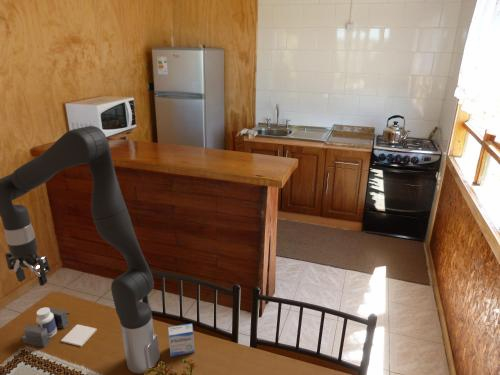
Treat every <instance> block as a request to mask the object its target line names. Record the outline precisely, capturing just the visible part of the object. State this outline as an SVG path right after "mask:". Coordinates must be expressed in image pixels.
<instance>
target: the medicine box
mask: <svg viewBox="0 0 500 375" xmlns="http://www.w3.org/2000/svg"><path fill="white" fill-rule="evenodd" d="M167 331H168V332H167V334H168V335H167V336H168V344H169V345H168V346H169V355H170V357H176V356H181V355H188V354H193V353H195V351H196V350H195V338H194V328H193V323H186V324H180V325H173V326H167Z"/></svg>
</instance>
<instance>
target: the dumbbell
mask: <svg viewBox="0 0 500 375" xmlns="http://www.w3.org/2000/svg"><path fill="white" fill-rule="evenodd" d="M48 308H49V309H50V312H51V313H53V315H54V319H55V323H56V327H57V329H63V330H64V329H65V328H67V327H68V326H69V320H68V316H69V315H70V312H67V311H66V310H64V309H59V308H54V307H50V306H49V307H48ZM23 332H24V334H23V336H21V340H22V343H26V344H29V345H34V346H36V347H40V348H43V349H44V348H46V347H47V346H48V345H49V344H50V343H51V341H50V338H49V337H48V333H47V329H46V328H43V327H39V326H37V323H36V324H35V325H34V324H28V325H27V326H26V327H24V328H23Z"/></svg>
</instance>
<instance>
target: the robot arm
mask: <svg viewBox="0 0 500 375" xmlns="http://www.w3.org/2000/svg"><path fill="white" fill-rule="evenodd" d="M86 164H88V167H89V170H90V173H91V177H92V190H91V191H92V192H91V201H90V212H91V217H92V218H93V219H92V220H93V223H94V225H95V227H96V231H97V233H98V234H99V236H100V237H101V239H103V240H104V241H105V242H106V243H107V244H109V245H110V246H111V247H113V248H114V249H116V250H117V251H118V252H120V254H121V255H122V256H123V258H124V259H125V262H126V264H127V268H128V270H126V271H125V272H123V273H122V274H120V275H118V276H117V277H116V278H114V279H113V280H112V282H111V286H110V287H111V288H110V289H111V295H112V300H113V304H114V307H115V311H116V315H117V316H118V319H119V323H120V329H121V336H122V340H123V347H124V348H123V349H124V355H125V359H126V364H127V369H128V370H129V371H130V372H131V373H135V374H144V373H146V372H145V371H146V370H147V369H148V368H150V367H154V368H155V366H156V364H158V362H159V360H160V357H161V356H160V347H159V339H158V337H159V336H158V334H156V333H155V329H154V319H153V313H152V311H153V310H152V308H151V306H150V305H149V304H148V303H146V302H143V301H141V300H143V299H144V298H146V297H147V296H148V295H149V294H150V293H151V292H152V291H154V287H155V281H154V278H153V274H152V270H151V269H150V267H149V264H148V263H147V261H146V257H145V256H144V254H143V251H142V249H141V246H140V244H139V241H138V238H137V236H136V232H135V229H134V227H133V223H132V219H131V216H130V212H129V210H128V208H127V207H128V206H127V205H126V203H125V199H124V197H123V194H122V190H121V188H120V183H119V181H118V176H117V173H116V169H115V166H114V161H113V157H112V151H111V147H110V143H109V139H108V138H107V136H106V134H105V132H103V130H102V129H100V128H99V127H98V126H95V125H89V126H82V127H78V128H74V129H70V130H68V131H67V132H66V133H64V134H63V135H62V136H60V137H59V138H58V139H57V140H56V141H55V142H54V143H53V144H52V145H50V147H49V148H47V149H46V150H45V151H44V152H42V153H41V154H39V155H38V156H37V157H34V158H33V159H31V160H29V161H28V162H26V163H24V164H23V165H21V166H19V167H18V168H16V169H15V170H14V171H13V172H12V173H10V174H8V175H5V176H4V177H1V178H0V218H1V221H2V226H3V230H4V237H5V240H6V245H7V248H8V250H9V251H8V252H7V253H5V255H4V256H5V260H6V264H7V268H8V270H12V271H13V272H14V273H15V275H16V278H17V281H18V282H20V283H22V282H23V281H24V280H26V274H25V271H24V269H25V268H27V269H29V270H30V271H31V272H32V273H35V275H36V276H37V280H38V284H39V286H41V287H42V286H44V285H46V284H47V283H48V279H47V275H48V274H49V273H50V272H51V267H50V264H49V260H48V258H47V256H46V255H45V254H44V255H42V256H39V255H38V253H37V251H38V247H39V246H38V243H37V238H36V235H35V232H34V231H35V230H34V227H33V225H32V222H31V219H30V215H29V211H28V209H27V207H26V206H25V205H23V204H14V203H13V201H14V200H16V199H19V198H20V197H22V196H24V195H26V194H28V193H29V192H30V191H32V190H34V189H36V188H37V187H38V188H39V187H40V186H42V185H43V184H45V183H46V182H48V181H49V180H51V179H52V178H53V177H54V176H56V174H57V173H59V172H60V171H63V170H65V169H68V168H73V167H76V166H79V165H86ZM36 265H37V266H36ZM35 266H36V267H35ZM23 268H24V269H23ZM39 270H40V271H39Z"/></svg>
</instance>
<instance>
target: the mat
mask: <svg viewBox="0 0 500 375" xmlns="http://www.w3.org/2000/svg"><path fill="white" fill-rule="evenodd" d="M97 330H98V329H97V328H95V327H91V326H87V325H86V326H85V325H82V324H76V325H75V326H74V327H73V328H72V329H71V330H70V331H69V332H68V333H67V334H66V335H65V336H64V337H63V338H62V339H61V340H60V341H61V343H65V344H69V345H74V346H76V347H82V346H84V344H85V343H86V342H87V341H88V340H89V339H90V338H91V337H92V336H93V335H94V334H95V333H96V332H97Z"/></svg>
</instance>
